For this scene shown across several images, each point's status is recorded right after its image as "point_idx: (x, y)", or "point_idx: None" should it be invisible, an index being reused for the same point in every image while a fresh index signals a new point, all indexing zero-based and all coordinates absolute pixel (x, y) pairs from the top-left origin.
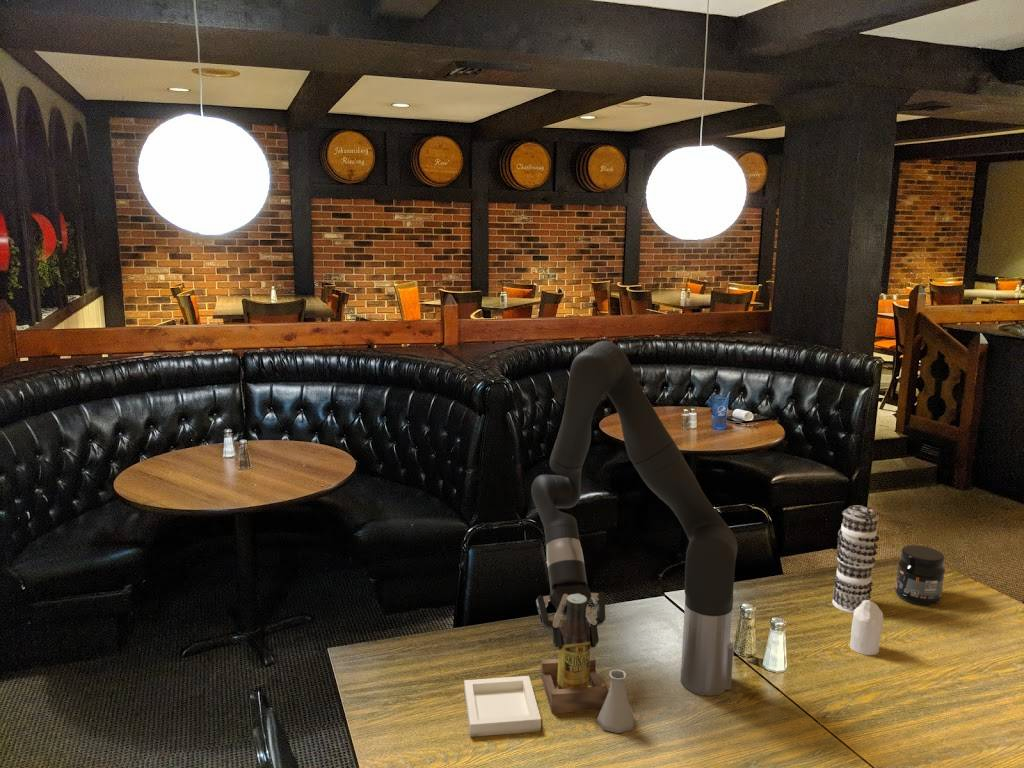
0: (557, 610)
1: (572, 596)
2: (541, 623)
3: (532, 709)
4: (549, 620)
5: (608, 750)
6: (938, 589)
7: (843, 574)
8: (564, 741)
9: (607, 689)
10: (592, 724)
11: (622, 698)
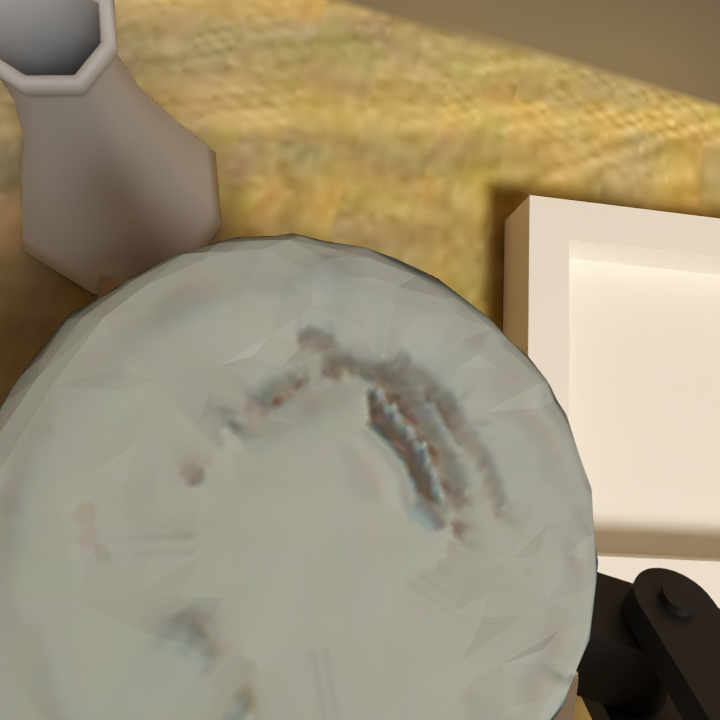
0: (572, 717)
1: (408, 689)
2: (670, 699)
3: (557, 278)
4: (622, 646)
5: (237, 28)
6: None
7: None
8: (414, 131)
9: (104, 284)
10: (249, 211)
11: (69, 66)
